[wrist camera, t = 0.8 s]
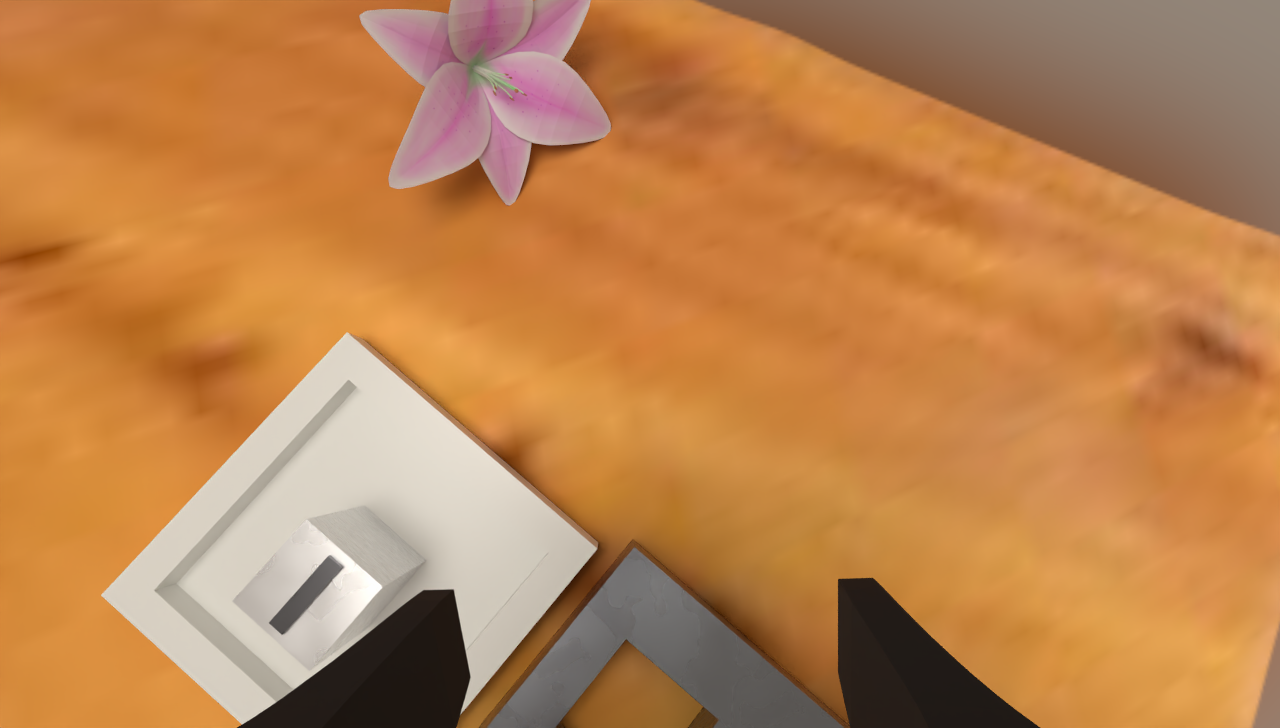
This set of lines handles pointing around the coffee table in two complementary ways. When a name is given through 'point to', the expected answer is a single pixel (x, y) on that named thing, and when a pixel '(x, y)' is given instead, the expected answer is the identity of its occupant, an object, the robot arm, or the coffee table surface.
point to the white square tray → (339, 480)
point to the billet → (329, 582)
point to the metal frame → (659, 656)
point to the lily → (488, 86)
